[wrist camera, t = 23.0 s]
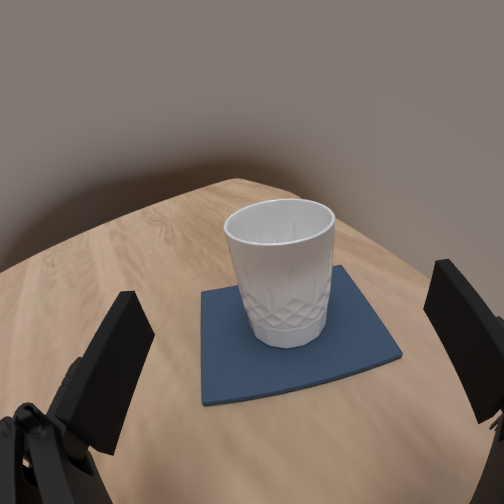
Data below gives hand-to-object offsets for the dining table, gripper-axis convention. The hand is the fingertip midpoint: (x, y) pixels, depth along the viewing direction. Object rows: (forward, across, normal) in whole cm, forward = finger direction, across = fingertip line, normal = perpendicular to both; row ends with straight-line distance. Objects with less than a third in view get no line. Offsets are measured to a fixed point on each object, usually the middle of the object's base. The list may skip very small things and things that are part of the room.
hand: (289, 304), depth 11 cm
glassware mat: (+10, 0, -11) cm, 15 cm away
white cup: (+10, 0, -10) cm, 14 cm away
